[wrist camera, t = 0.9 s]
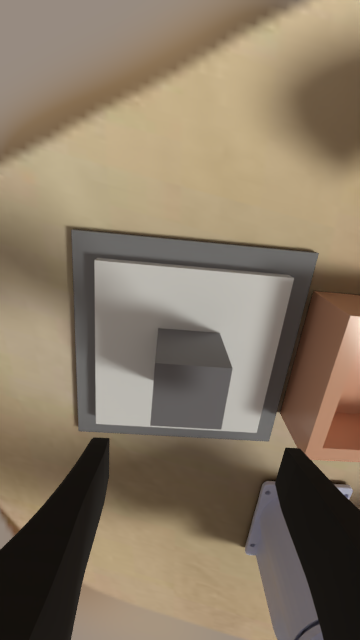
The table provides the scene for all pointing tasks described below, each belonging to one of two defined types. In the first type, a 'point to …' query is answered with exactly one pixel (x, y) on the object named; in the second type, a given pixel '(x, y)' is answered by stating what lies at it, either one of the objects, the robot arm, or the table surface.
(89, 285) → the mat
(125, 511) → the table surface
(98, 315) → the lid
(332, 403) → the dish
